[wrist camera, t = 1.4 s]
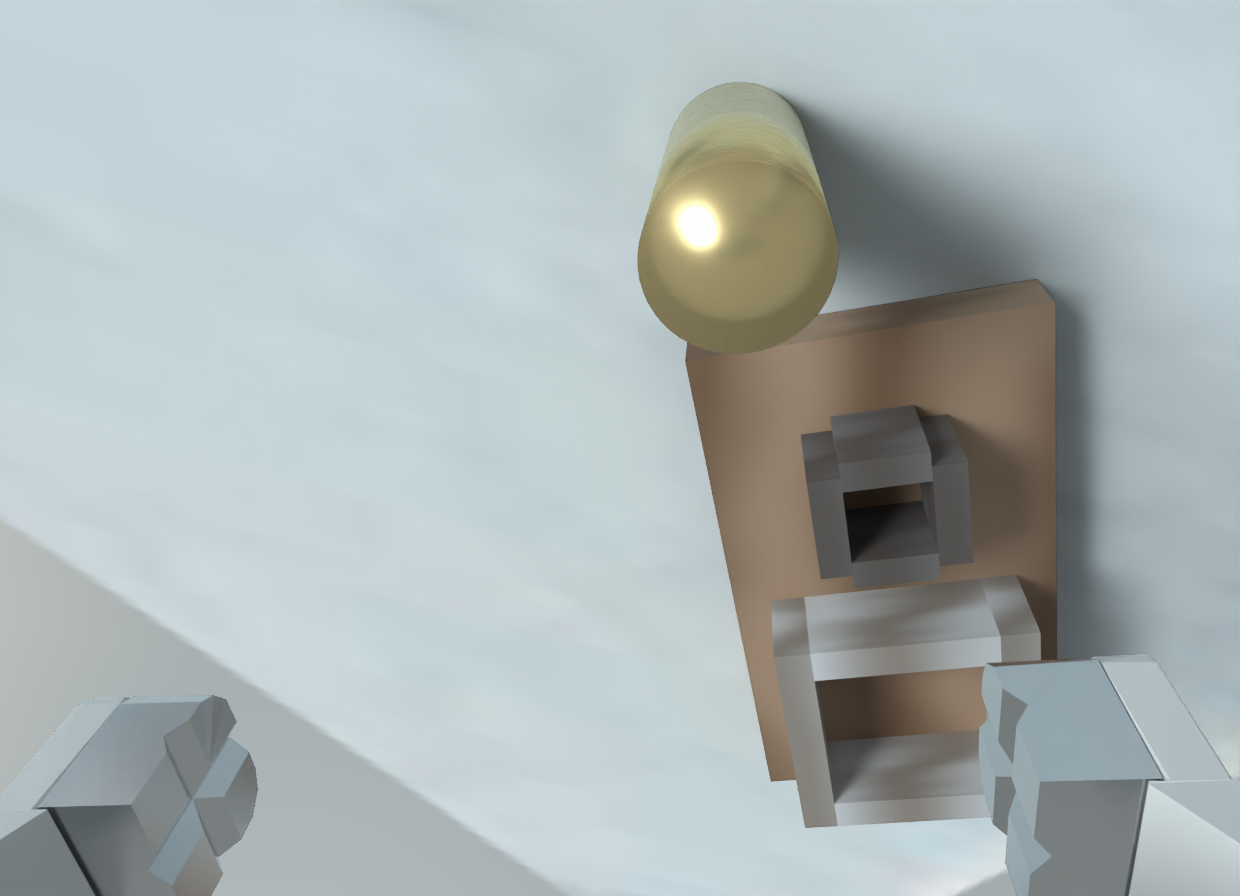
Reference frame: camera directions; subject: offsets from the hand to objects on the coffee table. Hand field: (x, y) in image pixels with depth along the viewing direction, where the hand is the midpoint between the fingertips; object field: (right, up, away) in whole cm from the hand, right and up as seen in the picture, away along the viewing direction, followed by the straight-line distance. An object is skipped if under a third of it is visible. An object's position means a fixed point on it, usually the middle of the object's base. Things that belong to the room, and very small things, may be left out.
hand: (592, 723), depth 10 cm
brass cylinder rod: (+4, +12, +19) cm, 22 cm away
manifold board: (+10, -1, +25) cm, 27 cm away
